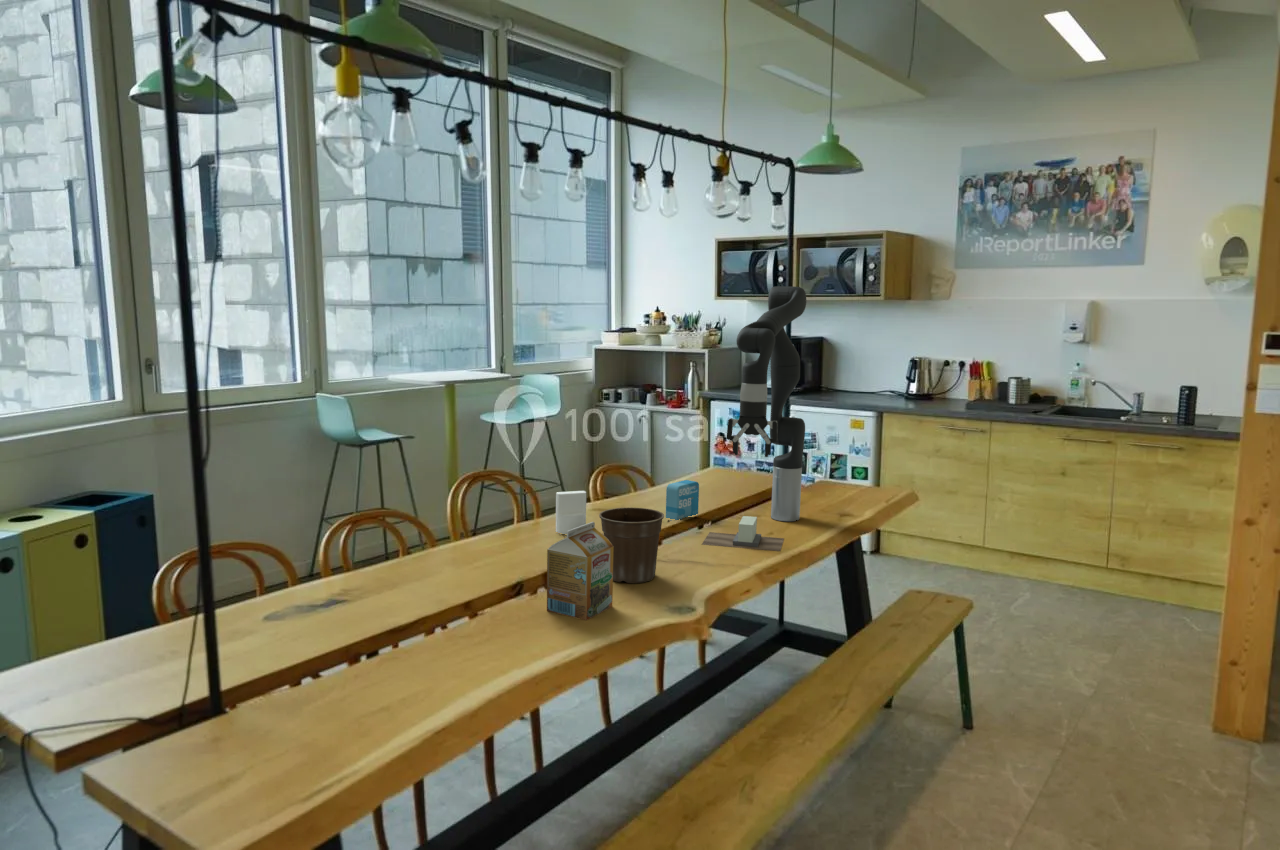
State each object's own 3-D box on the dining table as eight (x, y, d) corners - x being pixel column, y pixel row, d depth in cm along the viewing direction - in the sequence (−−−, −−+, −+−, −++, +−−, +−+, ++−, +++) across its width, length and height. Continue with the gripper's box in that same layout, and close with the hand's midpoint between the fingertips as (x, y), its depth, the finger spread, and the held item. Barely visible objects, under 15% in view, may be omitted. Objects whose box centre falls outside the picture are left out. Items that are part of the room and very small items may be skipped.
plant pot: (585, 573, 219) (586, 511, 217) (636, 563, 229) (637, 503, 227) (623, 591, 206) (624, 525, 204) (675, 579, 216) (677, 516, 214)
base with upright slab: (560, 536, 254) (561, 496, 252) (552, 529, 262) (552, 490, 261) (589, 534, 257) (590, 494, 256) (580, 526, 266) (580, 488, 264)
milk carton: (573, 597, 201) (574, 518, 198) (612, 606, 196) (613, 524, 193) (546, 611, 192) (547, 527, 189) (586, 620, 187) (587, 534, 184)
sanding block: (737, 536, 253) (738, 515, 252) (761, 538, 251) (762, 517, 250) (732, 545, 243) (733, 523, 242) (757, 547, 242) (758, 525, 241)
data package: (676, 523, 272) (677, 486, 270) (665, 521, 275) (666, 484, 273) (698, 517, 281) (699, 481, 280) (687, 514, 284) (688, 479, 282)
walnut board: (709, 537, 257) (709, 532, 257) (783, 543, 252) (784, 538, 252) (701, 549, 243) (701, 544, 243) (780, 556, 238) (780, 551, 238)
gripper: (780, 399, 246) (777, 455, 248) (730, 396, 249) (728, 452, 251) (777, 401, 238) (775, 459, 240) (726, 399, 242) (724, 456, 244)
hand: (751, 455), depth 246 cm, fingers open, 8 cm apart
